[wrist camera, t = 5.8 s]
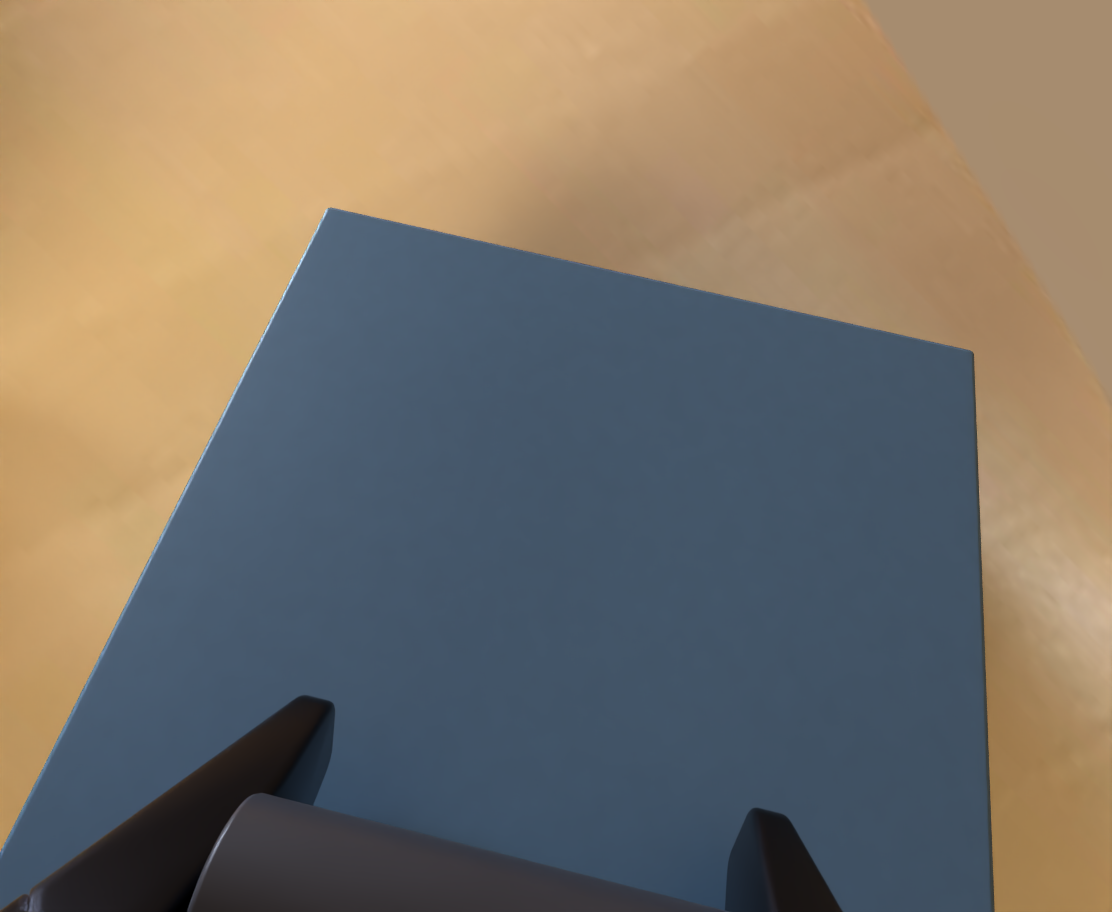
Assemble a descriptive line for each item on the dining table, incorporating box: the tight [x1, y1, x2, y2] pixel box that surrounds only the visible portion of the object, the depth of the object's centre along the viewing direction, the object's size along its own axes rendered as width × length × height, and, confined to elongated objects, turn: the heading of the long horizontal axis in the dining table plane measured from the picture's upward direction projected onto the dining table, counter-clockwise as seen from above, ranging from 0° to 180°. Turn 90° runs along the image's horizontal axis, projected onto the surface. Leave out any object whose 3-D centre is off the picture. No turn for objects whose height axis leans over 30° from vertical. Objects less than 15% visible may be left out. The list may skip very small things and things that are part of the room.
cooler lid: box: [0, 208, 994, 912], centre depth 11 cm, size 13×12×4 cm
